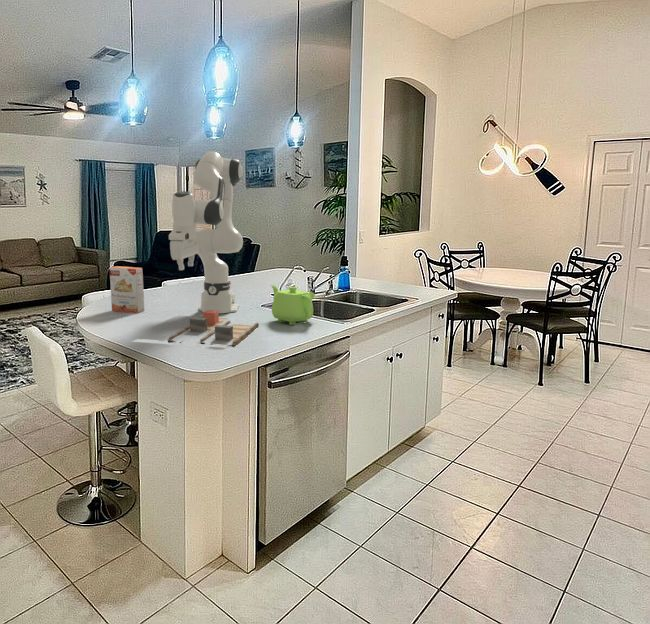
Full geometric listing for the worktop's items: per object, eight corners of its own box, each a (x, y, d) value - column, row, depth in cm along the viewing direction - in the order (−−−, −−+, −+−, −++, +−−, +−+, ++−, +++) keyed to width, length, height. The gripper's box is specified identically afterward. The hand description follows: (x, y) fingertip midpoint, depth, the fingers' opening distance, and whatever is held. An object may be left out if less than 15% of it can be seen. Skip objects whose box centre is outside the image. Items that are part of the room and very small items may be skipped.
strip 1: (210, 320, 243) (210, 306, 242) (227, 321, 242) (227, 307, 241) (187, 334, 218) (187, 319, 217) (206, 335, 217) (206, 320, 216)
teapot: (330, 321, 247) (331, 286, 244) (297, 328, 232) (297, 292, 228) (291, 312, 264) (292, 280, 260) (257, 319, 248) (257, 284, 245)
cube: (207, 321, 236) (207, 310, 234) (218, 322, 235) (218, 310, 234) (203, 324, 231) (203, 312, 230) (214, 324, 230) (214, 313, 229)
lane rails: (200, 323, 237) (200, 319, 236) (258, 327, 233) (258, 322, 233) (168, 342, 206) (168, 337, 205) (235, 347, 202) (235, 341, 202)
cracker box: (111, 311, 257) (108, 267, 253) (118, 308, 263) (116, 265, 258) (137, 313, 254) (135, 268, 249) (144, 310, 259) (142, 267, 255)
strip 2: (233, 327, 231) (233, 312, 230) (252, 328, 230) (251, 313, 229) (212, 342, 206) (211, 327, 205) (232, 344, 205) (232, 328, 204)
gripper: (187, 230, 227) (188, 263, 230) (166, 236, 207) (168, 271, 211) (201, 231, 226) (202, 264, 229) (182, 236, 206) (184, 272, 210)
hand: (186, 268), depth 220 cm, fingers open, 8 cm apart
